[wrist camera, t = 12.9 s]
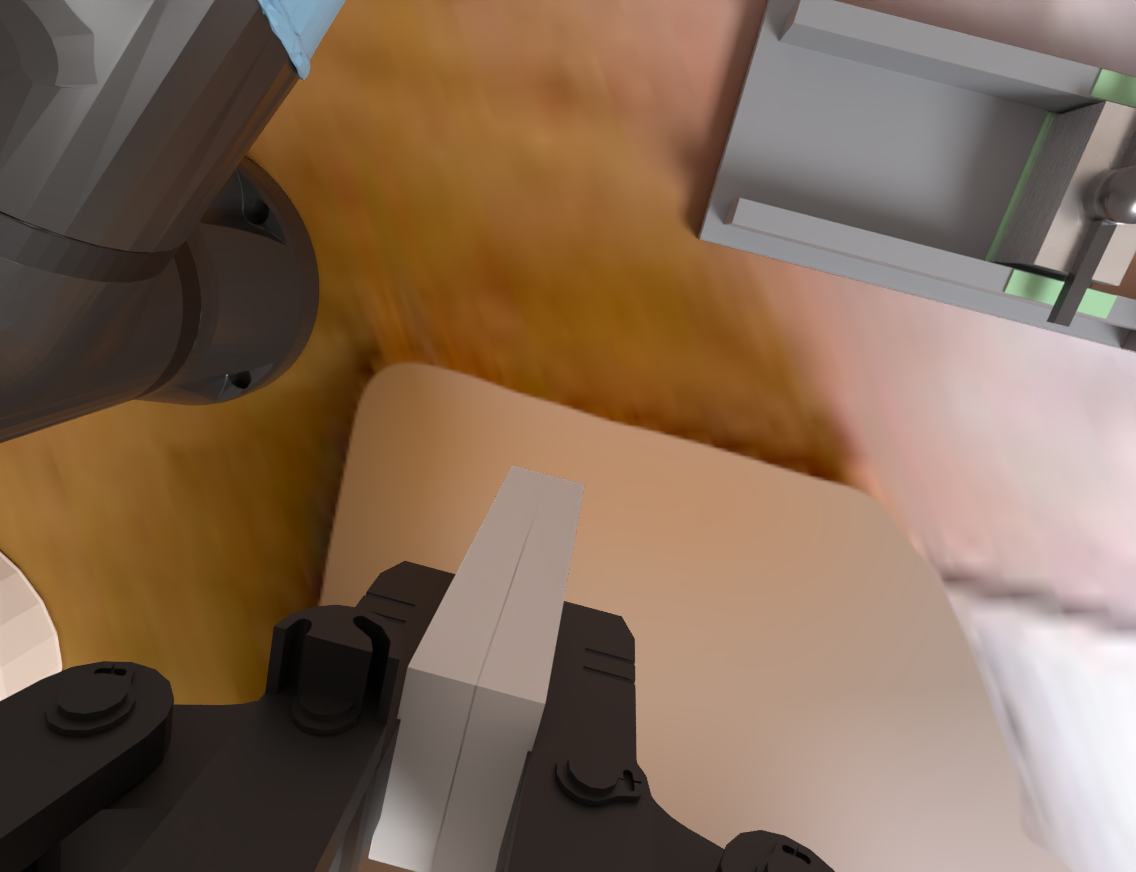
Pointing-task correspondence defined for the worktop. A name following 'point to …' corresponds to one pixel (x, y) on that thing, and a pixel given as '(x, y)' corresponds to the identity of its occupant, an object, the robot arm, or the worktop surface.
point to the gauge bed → (902, 159)
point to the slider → (1076, 205)
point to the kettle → (24, 633)
